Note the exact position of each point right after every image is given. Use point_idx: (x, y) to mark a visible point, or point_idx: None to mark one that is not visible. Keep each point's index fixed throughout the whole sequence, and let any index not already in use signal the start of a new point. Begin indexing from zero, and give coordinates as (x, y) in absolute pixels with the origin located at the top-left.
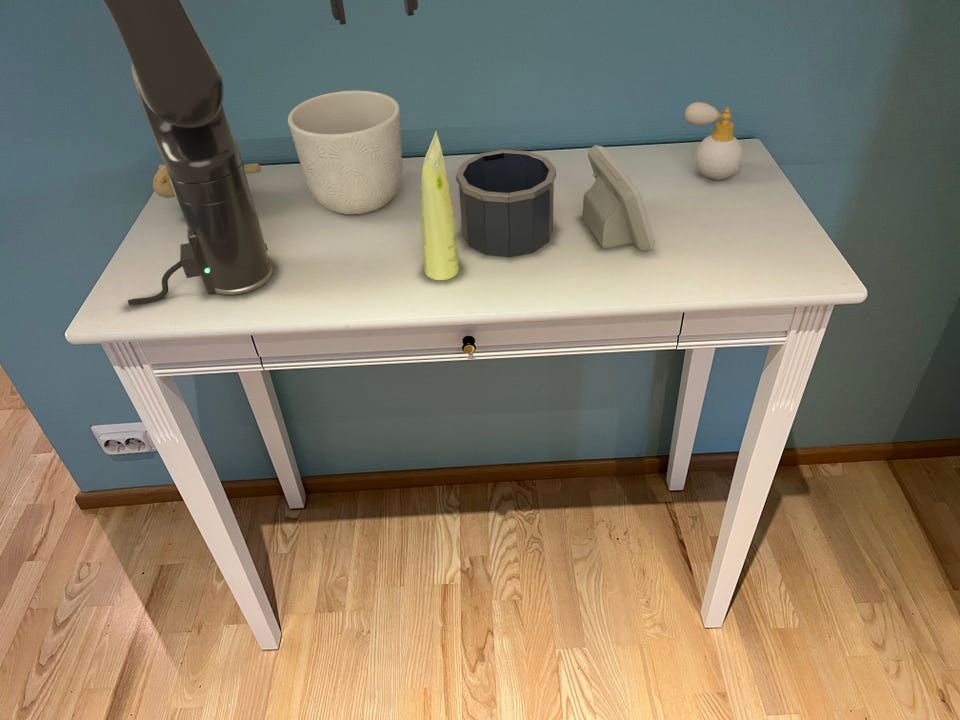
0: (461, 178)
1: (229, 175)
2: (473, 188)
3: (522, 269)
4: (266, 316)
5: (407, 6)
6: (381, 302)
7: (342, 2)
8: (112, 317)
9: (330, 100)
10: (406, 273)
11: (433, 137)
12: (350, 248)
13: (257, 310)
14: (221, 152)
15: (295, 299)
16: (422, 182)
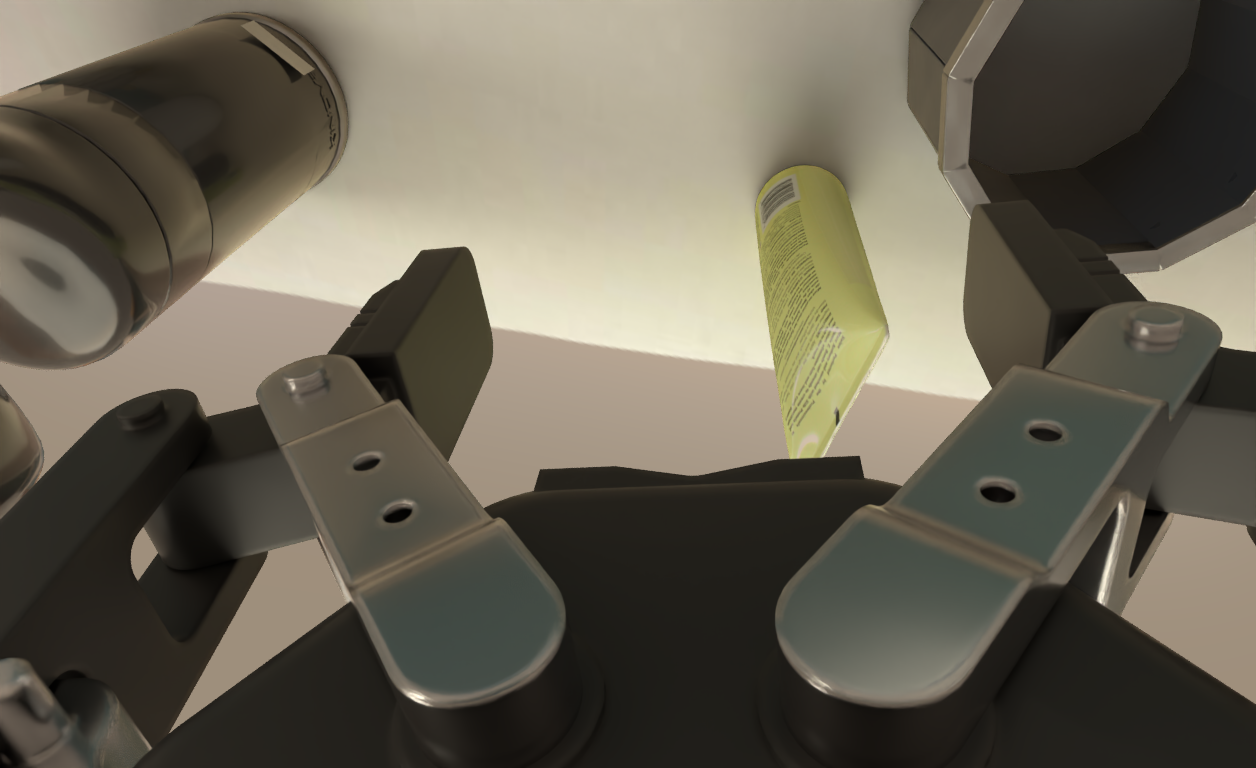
0: (957, 115)
1: (160, 310)
2: (972, 200)
3: None
4: (376, 282)
5: (980, 351)
6: (635, 294)
7: (454, 437)
8: None
9: None
10: (706, 193)
11: (863, 380)
12: (553, 23)
13: (349, 256)
14: (103, 337)
15: (430, 235)
16: (781, 409)
